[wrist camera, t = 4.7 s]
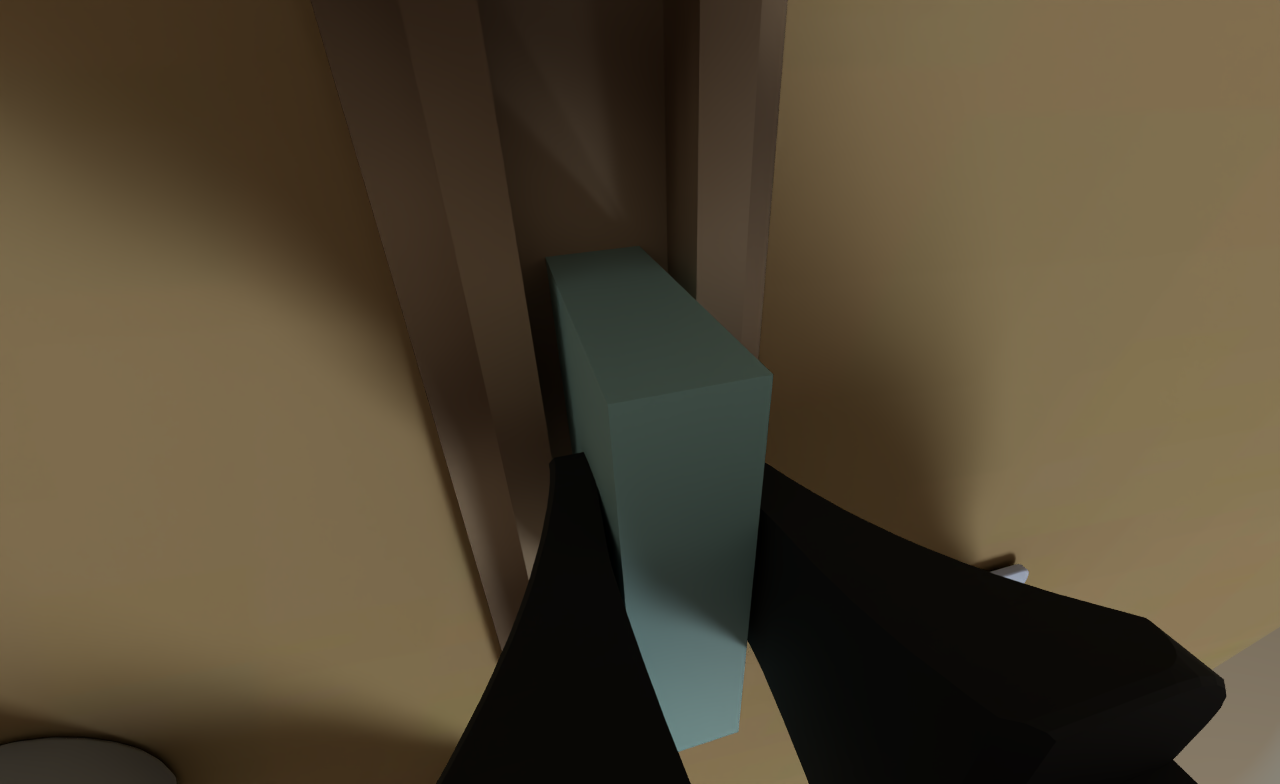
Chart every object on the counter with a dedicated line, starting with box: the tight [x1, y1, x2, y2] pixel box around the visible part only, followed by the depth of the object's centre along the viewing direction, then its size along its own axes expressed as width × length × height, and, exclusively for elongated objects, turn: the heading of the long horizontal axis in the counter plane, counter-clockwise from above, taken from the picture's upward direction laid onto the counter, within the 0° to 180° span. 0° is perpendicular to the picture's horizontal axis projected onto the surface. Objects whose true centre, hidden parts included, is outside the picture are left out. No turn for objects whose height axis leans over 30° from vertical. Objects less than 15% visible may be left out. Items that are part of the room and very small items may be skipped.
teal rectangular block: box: [545, 246, 773, 752], centre depth 11 cm, size 8×2×6 cm, turn 2°
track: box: [311, 0, 788, 651], centre depth 10 cm, size 21×8×7 cm, turn 2°
